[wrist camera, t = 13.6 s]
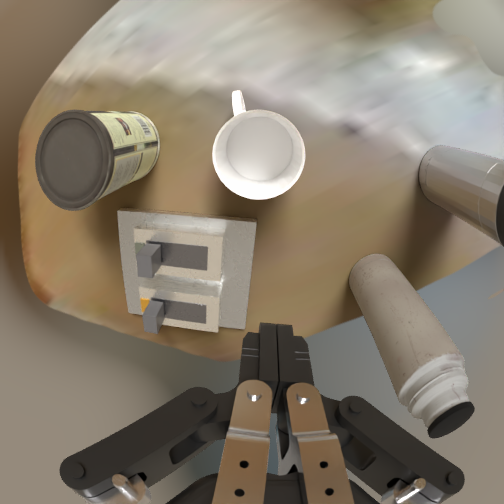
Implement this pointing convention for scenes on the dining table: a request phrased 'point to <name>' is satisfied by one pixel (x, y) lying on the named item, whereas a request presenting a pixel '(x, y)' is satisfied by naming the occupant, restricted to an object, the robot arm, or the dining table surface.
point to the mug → (258, 152)
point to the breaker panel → (190, 266)
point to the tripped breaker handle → (153, 316)
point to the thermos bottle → (412, 346)
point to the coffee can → (93, 155)
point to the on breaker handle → (148, 260)
